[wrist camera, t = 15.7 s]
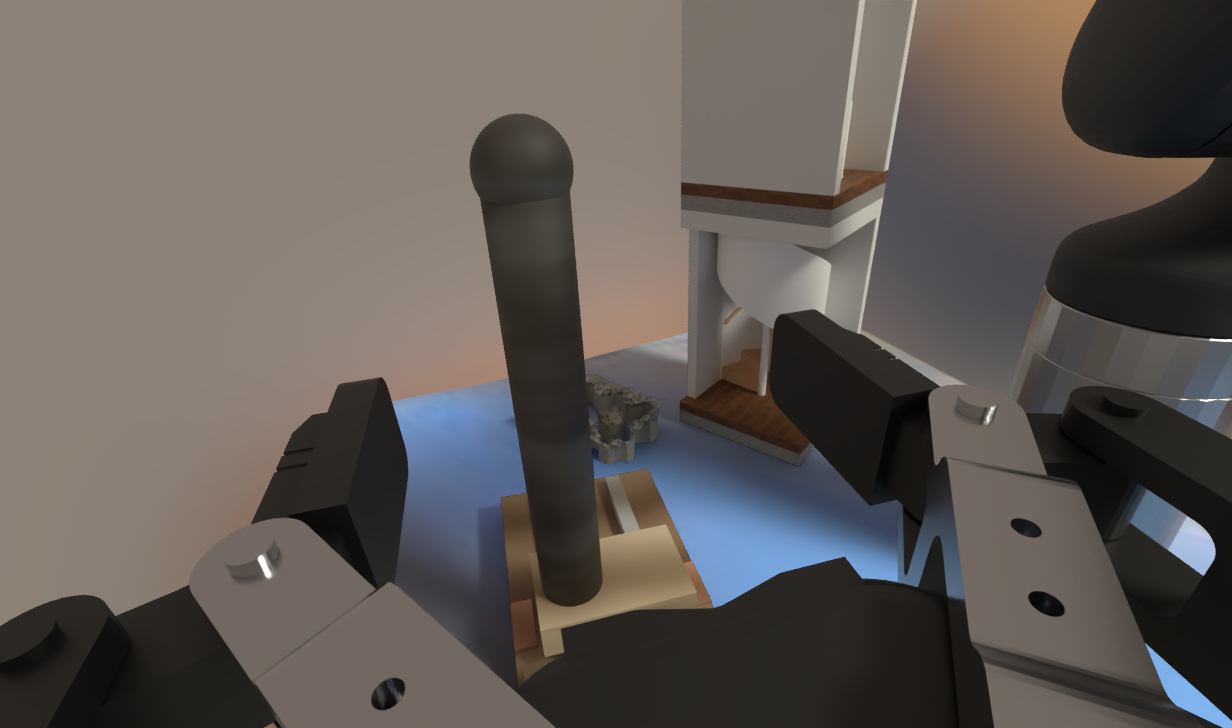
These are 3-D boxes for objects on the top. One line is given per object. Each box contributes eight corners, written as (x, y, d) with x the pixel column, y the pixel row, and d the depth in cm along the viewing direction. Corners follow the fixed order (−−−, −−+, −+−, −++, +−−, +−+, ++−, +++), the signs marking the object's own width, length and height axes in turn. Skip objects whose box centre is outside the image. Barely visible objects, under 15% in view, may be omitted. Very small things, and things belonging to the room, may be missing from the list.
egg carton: (529, 431, 51) (523, 393, 50) (586, 397, 56) (582, 361, 54) (615, 476, 45) (612, 435, 43) (671, 434, 50) (670, 394, 48)
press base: (504, 518, 41) (494, 464, 39) (648, 489, 43) (646, 436, 41) (532, 800, 25) (517, 737, 23) (758, 732, 27) (766, 667, 25)
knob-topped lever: (533, 579, 32) (455, 113, 21) (666, 549, 34) (662, 100, 22) (544, 657, 28) (454, 123, 16) (696, 618, 29) (710, 105, 18)
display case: (679, 420, 51) (682, -47, 35) (737, 374, 58) (761, -32, 42) (798, 466, 45) (870, -84, 28) (847, 408, 52) (926, -59, 35)
